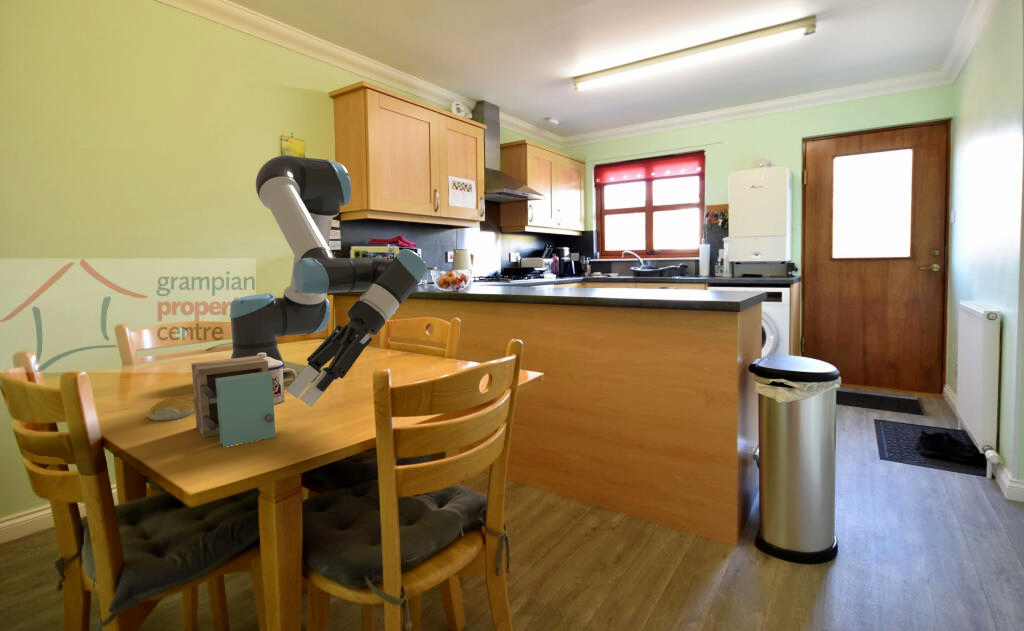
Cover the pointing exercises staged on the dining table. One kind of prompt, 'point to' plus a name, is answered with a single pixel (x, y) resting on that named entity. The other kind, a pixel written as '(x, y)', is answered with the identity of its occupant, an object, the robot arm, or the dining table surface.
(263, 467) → the dining table surface
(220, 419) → the door
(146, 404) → the dining table surface
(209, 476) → the dining table surface
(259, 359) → the cabinet
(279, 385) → the teacup with lid
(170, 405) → the bread roll
